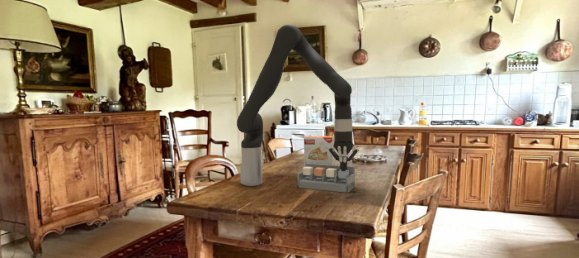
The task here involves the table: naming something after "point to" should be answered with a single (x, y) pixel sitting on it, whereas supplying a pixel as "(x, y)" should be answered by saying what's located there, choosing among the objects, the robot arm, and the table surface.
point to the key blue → (343, 174)
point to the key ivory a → (307, 170)
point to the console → (327, 179)
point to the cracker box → (318, 150)
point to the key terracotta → (319, 171)
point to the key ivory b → (331, 172)
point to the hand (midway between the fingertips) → (343, 170)
